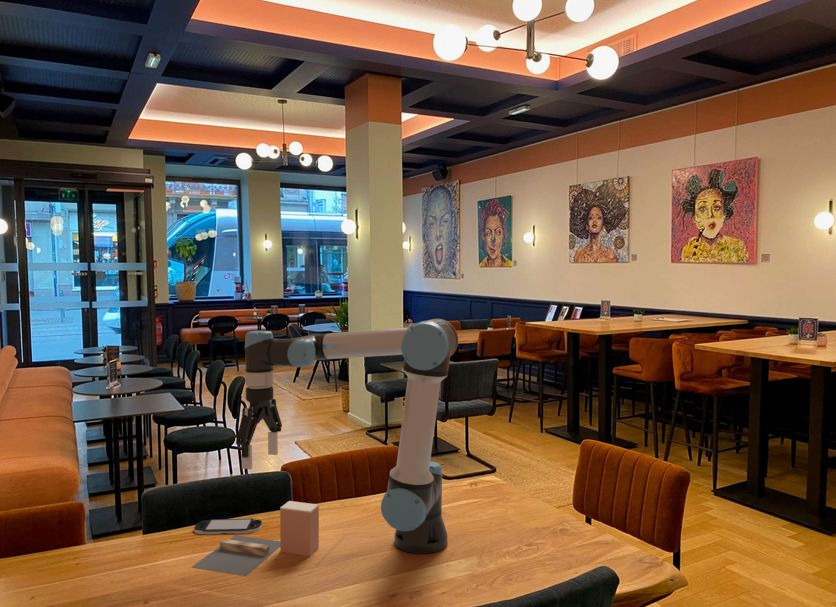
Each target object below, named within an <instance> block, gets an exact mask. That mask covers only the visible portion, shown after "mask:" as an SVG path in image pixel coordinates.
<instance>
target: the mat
mask: <svg viewBox="0 0 836 607" xmlns="http://www.w3.org/2000/svg"><path fill="white" fill-rule="evenodd" d="M228 539H229V540H236V541H243V542H249V543H256V544H263V545H269V553H268V554H267V555H266V556H262V555H256V554H249V553H243V552H236V551H230V550H223V549H220V546H218V547H217V548H215V549H214V550H213V551H212V552H210V553H209V554H208V555H206V556H204V557H203V558H201V559H200V560H199V561H198V562H196V563H195V564H194V565H192V566H191V568H193V569H199V570H205V571H212V572H217V573H223V574H224V573H225V574H230V575H237V576H242V577H247V576H249V574H251V573H252V572H253V571H255V569H257V567H259V566H260V565H261V564H262V563H263V562H264V561H266V560H267V559H268V558H269V557H270V556H272V555H273V554H274V553H275V552H276V551H278V550H279V548H280V541H279V540H272V539H266V538H260V537H259V538H258V537H251V536H246V535H245V536H244V535H238V534H234V536H232V537H231V538H228Z"/></svg>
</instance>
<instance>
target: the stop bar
mask: <svg viewBox="0 0 836 607" xmlns="http://www.w3.org/2000/svg"><path fill="white" fill-rule="evenodd" d="M229 539H230V538H228V539H227V538H223V539H222V540H221V541H219V547H220V549H223V550H230V551H236V552H243V553H249V554H256V555H262V556H266V555H267V554H268V553H269V545H263V544H256V543H249V542H243V541H236V540H229Z"/></svg>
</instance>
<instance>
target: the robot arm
mask: <svg viewBox="0 0 836 607" xmlns="http://www.w3.org/2000/svg"><path fill="white" fill-rule="evenodd" d="M244 340H245V341H244V355H245V357H244V358H245V359H244V361H245V386H246V388H245V400H246V401H247V402H248V403H249V406H248V407H242V410H241V413H242V414H241V420H240V423H239V427H238V428H239V429H238V431H237V432H238V433H237V435H236V440H235V445H237V446H240V447H241V448H240V450H241V469H244V470H246V469H247V470H252V469H253V444H251V442H252V440H253V438H254V434H255V431H256V428H257V427H258V426H257V425H258V424H260V422H261V421H262V420H263V421H264V423H265V425H266V426H267V428H268V430H269V431H268V432H267V452H268V455H271V456H272V455H273V456H277V455H278V453H279V451H278V450H279V445H278V444H279V443H278V442H279V441H278V439H279V437H278V433H280V432H281V431H282V427H283V424H282V421H281V420H282V419H281V416H280V413H279V409H278V407H277V399H276V398H274V386H273V385H274V367H276V366H277V367H278V366H279V367H293V368H294V367H295V368H300V367H301V368H302V367H304V368H305V367H309V366H312V364H313V362H314V361H323V360H334V359H353V358H367V357H371V358H372V357H386V356H400V355H401V356H402V357H403V359H404V360H403V367H402V371H403V372H404V374H405V375H406V376H407V383H406V389H405V395H404V396H405V397H404V404H403V412H402V420H401V426H400V436H399V443H398V444H399V445H398V451H397V452H398V453H397V459H396V466H394V467H393V468H391V469H390V470H389V476H388V477H389V478H388V484H387V489H386V492H385V493H384V495H383V497H382V500H381V502H380V510H381V511H380V512H381V515H382V517H383V519H384V520H385V522H386V523H387V524H388V525H389V526H390V527H391V528H393V529H394V530H395V531H394V545H395V546H396V547H397V548H398V549H399V550H402V551H403V552H407V553H412V554H422V555H423V554H430V553H431V554H432V553H436V552H439V551H442V550H443V549H444V548H446V547H447V545H448V532H447V529H446V525H445V522H444V518H443V515H442V514H443V512H442V511H443V510H442V507H443V506H442V504H443V497H442V496H443V468H442V465H441V464H440V463H439V462H435V461H432V460H431V459H432V458H431V457H432V450H433V444H434V443H433V442H434V435H435V427H436V420H437V419H436V418H437V414H438V413H437V412H438V406H439V405H438V404H439V398H440V391H441V382H442V381H443V380H444V379H446V378H447V377H448V375H449V368H450V359H451V357H452V356H453V355H454V354H455V353H456V351H457V349H458V346H459V345H458V344H459V335H458V332H457V330H456V327H454V326H453V325H452V323H450V321H448V320H445V319H442V318H432V319H428V320H423V321H422V320H421V321H418V322H415V323H414V322H413V323H410V324H409V325H408V327H396V328H383V329H371V330H357V331H344V332H331V333H313V334H312V333H310V334H308V335H304V336H299V337H298V336H297V337H295V338H275V337H274V335H273V332H272V331H271V330H252V331H251V330H250V331H248V332H246V333H245V338H244Z"/></svg>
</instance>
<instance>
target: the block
mask: <svg viewBox="0 0 836 607" xmlns="http://www.w3.org/2000/svg"><path fill="white" fill-rule="evenodd" d="M319 506H320V505H319V504H316V503H309V502H308V503H307V502H302V501H301V502H300V501H293V500H288V501H287V502H286V503H285V504H283V505H282V506H280V510H279V512H280V515H279V517H280V521H279V522H280V524H279V525H280V532H279V533H280V534H279V538H280V539H279V540H280V547H279V548H280V549H279V550H280V552H281V553H287V554H294V555H301V556H306V557H307V556H308V557H312V555H314V553H315V552H317V551H318V550H319V548H320V546H319V544H320V543H319V542H320V536H319V535H320V534H319V533H320V532H319V531H320V528H319V526H320V524H319V519H320V518H319V517H320V516H319V515H320V509H319V508H320V507H319Z"/></svg>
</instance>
